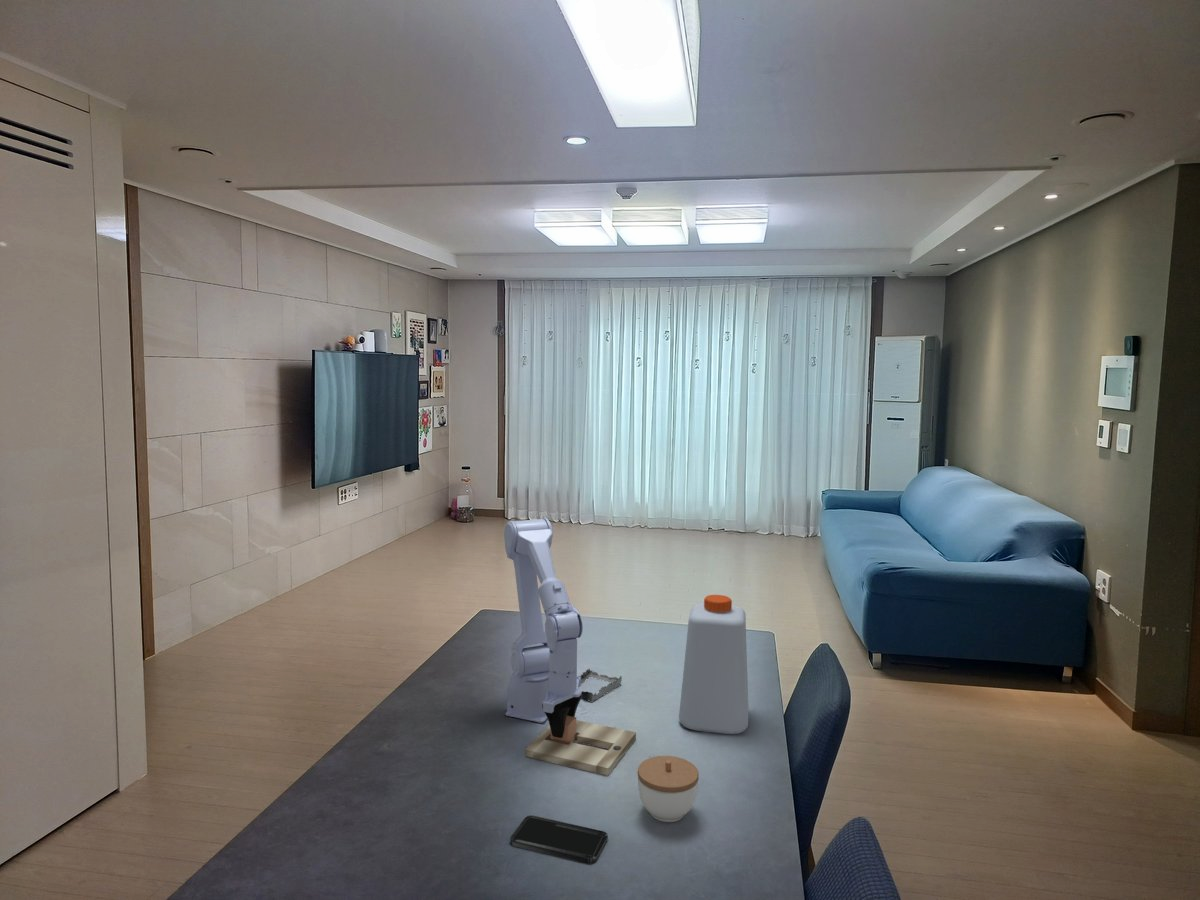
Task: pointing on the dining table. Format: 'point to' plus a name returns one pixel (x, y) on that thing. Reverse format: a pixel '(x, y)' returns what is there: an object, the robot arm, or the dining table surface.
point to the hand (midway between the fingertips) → (562, 731)
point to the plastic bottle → (715, 668)
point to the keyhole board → (584, 748)
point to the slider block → (567, 731)
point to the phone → (559, 839)
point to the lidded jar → (667, 787)
